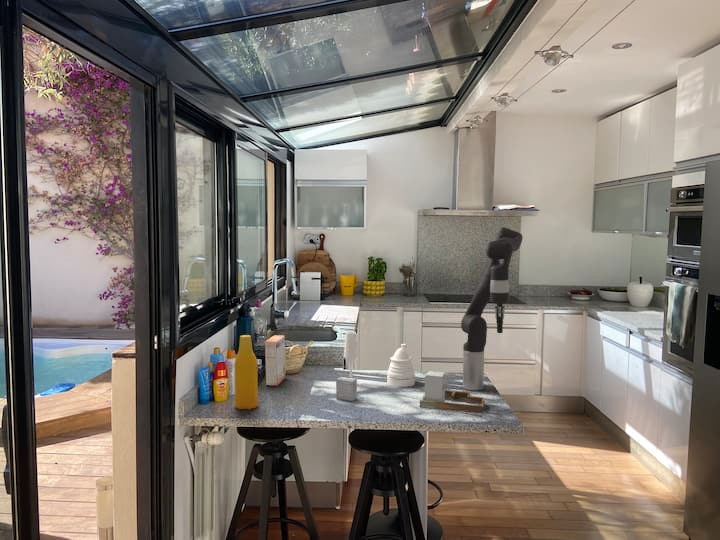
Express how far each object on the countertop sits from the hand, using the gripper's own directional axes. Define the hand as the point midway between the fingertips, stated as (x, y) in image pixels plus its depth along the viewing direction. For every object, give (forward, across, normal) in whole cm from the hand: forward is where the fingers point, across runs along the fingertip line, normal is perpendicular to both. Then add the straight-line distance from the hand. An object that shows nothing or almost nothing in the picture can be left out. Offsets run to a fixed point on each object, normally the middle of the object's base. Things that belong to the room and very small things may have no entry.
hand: (499, 332), depth 227 cm
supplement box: (+29, -7, +26) cm, 40 cm away
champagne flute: (+29, +12, +67) cm, 74 cm away
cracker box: (+28, +7, +102) cm, 106 cm away
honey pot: (+29, +19, +45) cm, 57 cm away
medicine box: (+28, -10, +63) cm, 70 cm away
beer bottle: (+27, -29, +100) cm, 108 cm away
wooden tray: (+29, -5, +19) cm, 35 cm away
